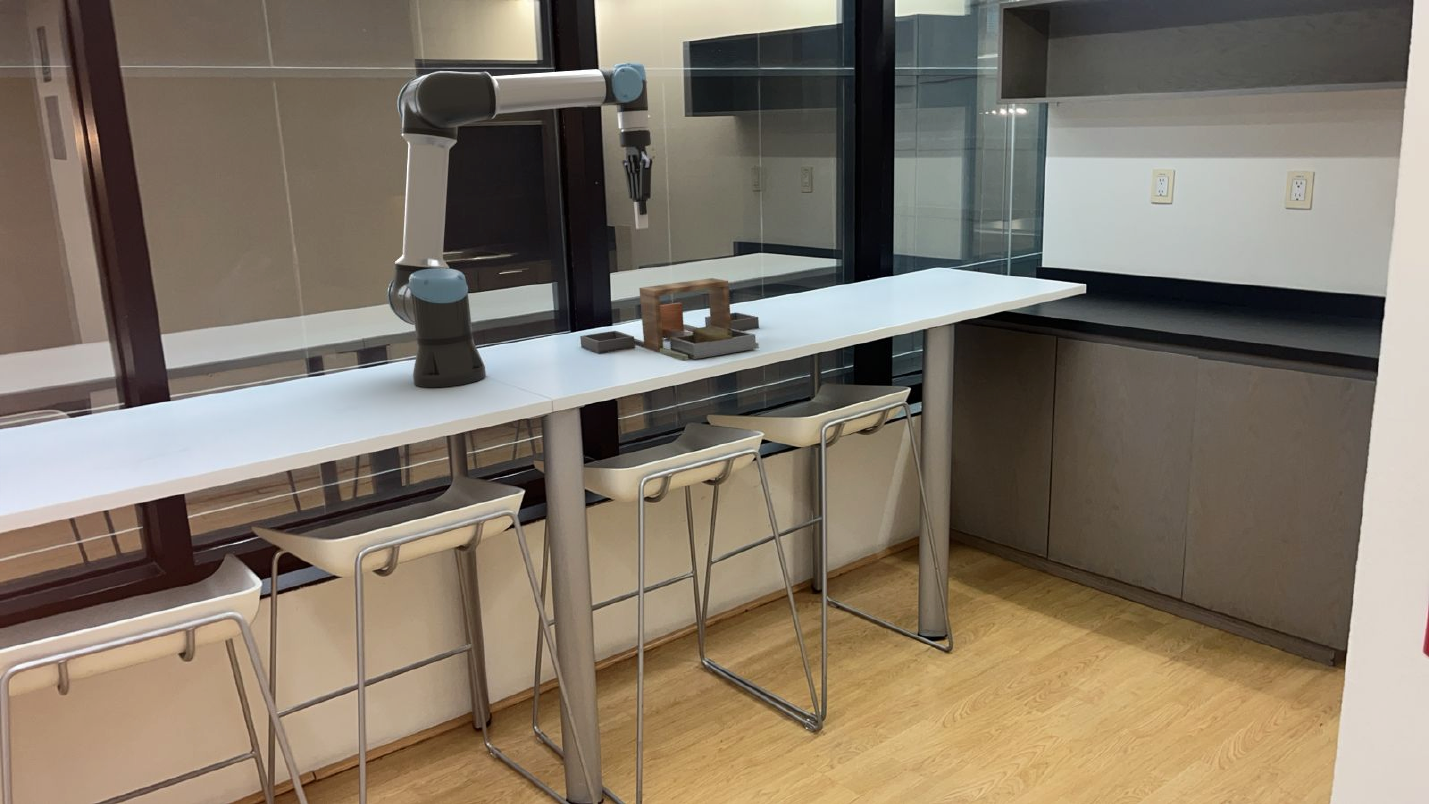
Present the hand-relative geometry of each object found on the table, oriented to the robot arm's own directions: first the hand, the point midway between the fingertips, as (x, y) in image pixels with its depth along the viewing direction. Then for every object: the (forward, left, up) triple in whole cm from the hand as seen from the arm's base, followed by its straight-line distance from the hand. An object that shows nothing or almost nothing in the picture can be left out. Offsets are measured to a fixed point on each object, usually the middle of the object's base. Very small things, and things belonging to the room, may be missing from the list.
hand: (642, 228), depth 262 cm
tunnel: (0, -19, -26) cm, 33 cm away
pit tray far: (+18, -10, -26) cm, 33 cm away
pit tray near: (-16, -10, -26) cm, 32 cm away
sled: (0, -25, -26) cm, 36 cm away
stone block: (0, -34, -26) cm, 43 cm away
